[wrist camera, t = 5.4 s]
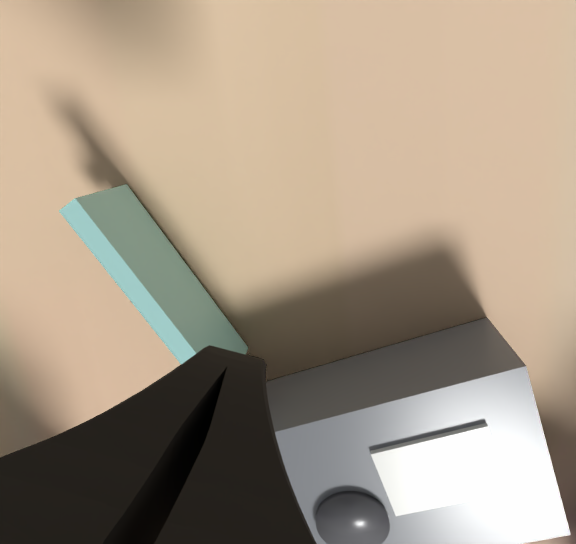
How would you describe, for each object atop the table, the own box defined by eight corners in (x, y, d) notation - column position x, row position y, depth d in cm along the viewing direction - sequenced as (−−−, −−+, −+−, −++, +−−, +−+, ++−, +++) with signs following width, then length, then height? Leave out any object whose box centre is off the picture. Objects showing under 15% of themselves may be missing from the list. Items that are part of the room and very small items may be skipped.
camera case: (314, 506, 23) (309, 588, 19) (256, 384, 21) (237, 446, 17) (527, 460, 21) (575, 542, 17) (487, 317, 18) (529, 370, 14)
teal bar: (265, 368, 20) (250, 423, 17) (239, 382, 21) (218, 438, 17) (128, 183, 18) (74, 197, 14) (102, 203, 18) (43, 222, 15)
